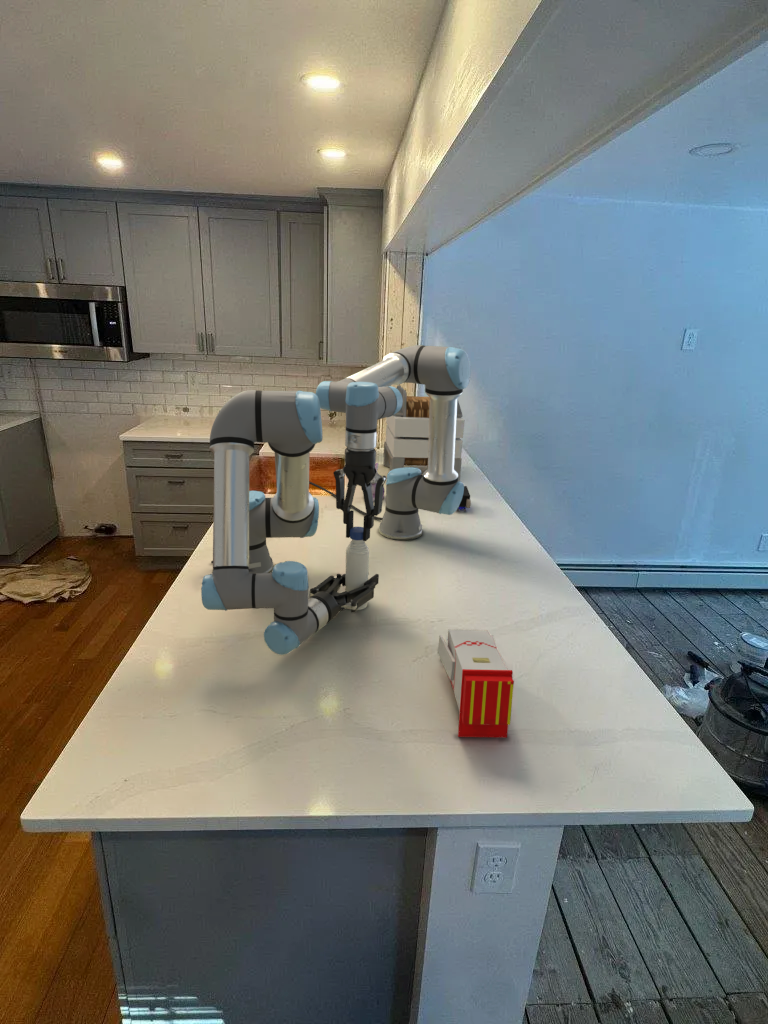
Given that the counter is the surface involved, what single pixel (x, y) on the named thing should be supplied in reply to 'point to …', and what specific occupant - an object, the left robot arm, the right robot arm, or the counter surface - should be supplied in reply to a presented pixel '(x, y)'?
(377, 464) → the figurine
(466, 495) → the figurine character
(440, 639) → the toy
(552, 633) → the counter surface
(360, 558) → the bottle
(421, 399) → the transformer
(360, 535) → the cap
